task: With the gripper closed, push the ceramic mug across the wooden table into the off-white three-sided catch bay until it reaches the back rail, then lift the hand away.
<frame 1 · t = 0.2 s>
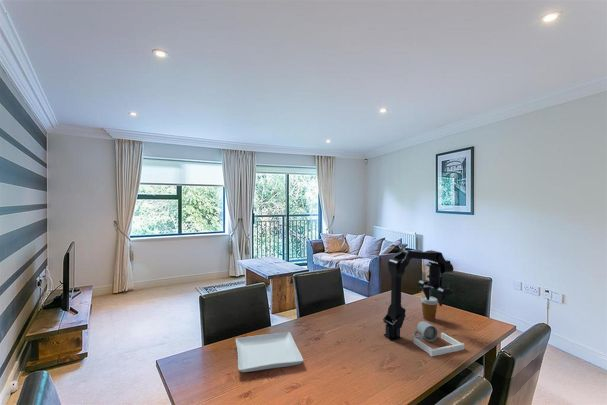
hand: (434, 302, 159), 14 cm above the table, tool pointing down, fingers open, 9 cm apart
ceramic mug: (424, 338, 150), on the table
square plate: (267, 356, 133), on the table
disposable coffee cup: (429, 319, 173), on the table
catch bay: (436, 345, 142), on the table
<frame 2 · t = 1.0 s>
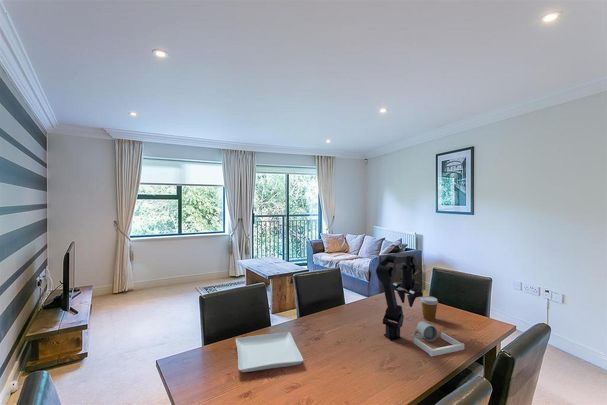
hand: (406, 304, 163), 12 cm above the table, tool pointing down, fingers open, 6 cm apart
nothing on the table moved.
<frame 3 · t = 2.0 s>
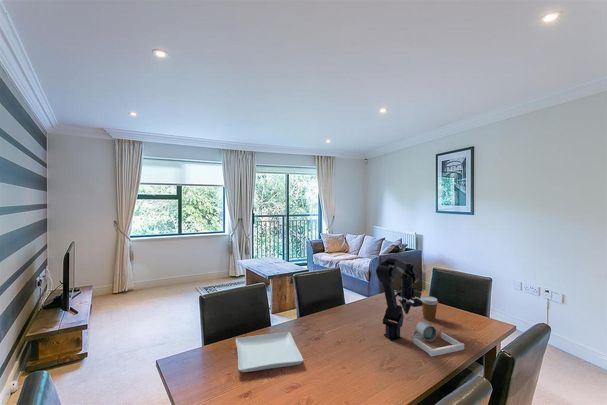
hand: (406, 313, 163), 7 cm above the table, tool pointing down, fingers closed
nothing on the table moved.
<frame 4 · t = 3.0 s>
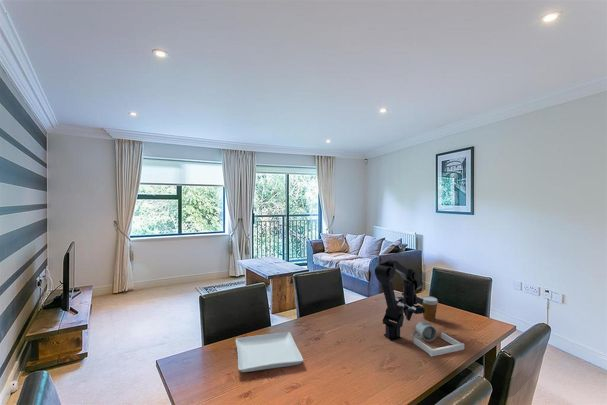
hand: (408, 320, 161), 4 cm above the table, tool pointing down, fingers closed
nothing on the table moved.
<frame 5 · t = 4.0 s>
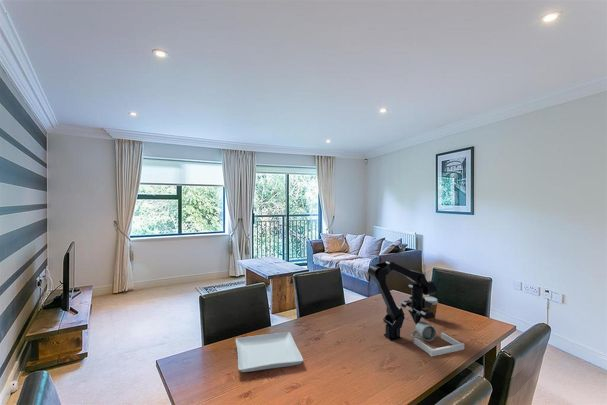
hand: (416, 325, 155), 4 cm above the table, tool pointing down, fingers closed
ceramic mug: (422, 338, 149), on the table, touching gripper
everything else where it was.
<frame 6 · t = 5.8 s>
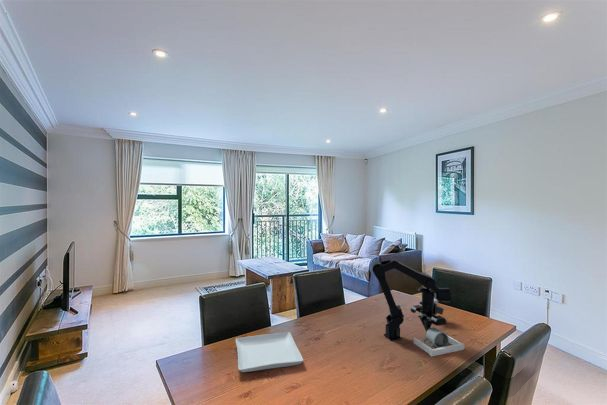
hand: (427, 331, 148), 4 cm above the table, tool pointing down, fingers closed
ceramic mug: (434, 345, 142), on the table, touching gripper
everything else where it was.
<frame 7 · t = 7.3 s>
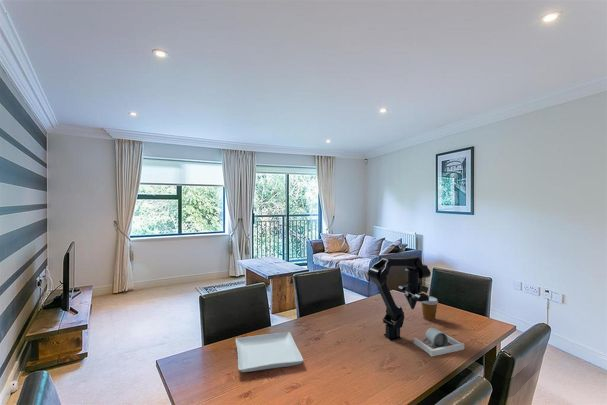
hand: (412, 309, 157), 12 cm above the table, tool pointing down, fingers closed
ceramic mug: (433, 346, 142), on the table
everything else where it was.
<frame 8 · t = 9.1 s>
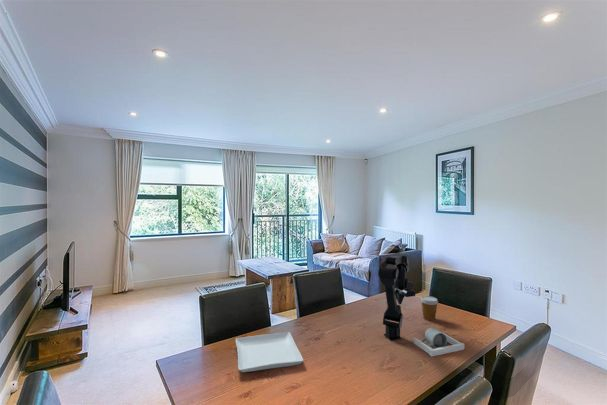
hand: (399, 304, 163), 12 cm above the table, tool pointing down, fingers closed
nothing on the table moved.
at the end: ceramic mug inside the target area (2.6 cm from its centre), on the table; ceramic mug tilted 1° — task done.
